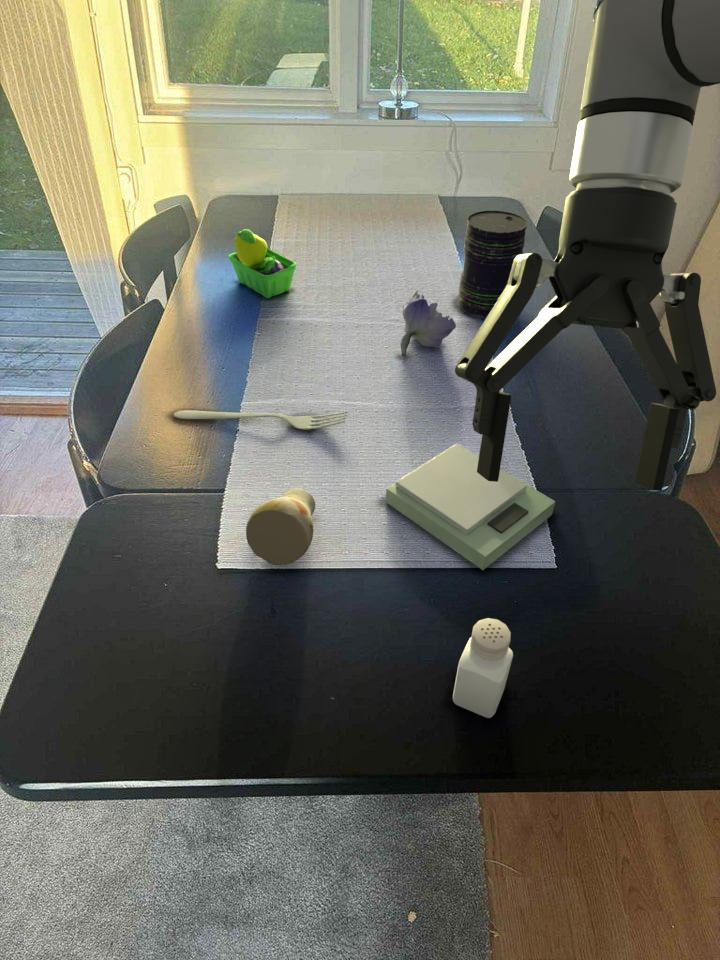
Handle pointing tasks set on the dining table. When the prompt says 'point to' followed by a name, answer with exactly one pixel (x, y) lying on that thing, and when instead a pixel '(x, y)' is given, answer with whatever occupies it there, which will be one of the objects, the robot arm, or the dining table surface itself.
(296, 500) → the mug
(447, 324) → the flower
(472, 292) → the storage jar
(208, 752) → the dining table surface
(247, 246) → the fruit basket
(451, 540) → the scale
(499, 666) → the pepper shaker
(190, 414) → the fork
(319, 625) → the dining table surface
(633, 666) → the dining table surface
